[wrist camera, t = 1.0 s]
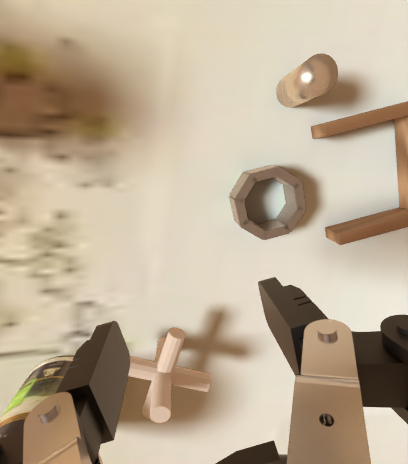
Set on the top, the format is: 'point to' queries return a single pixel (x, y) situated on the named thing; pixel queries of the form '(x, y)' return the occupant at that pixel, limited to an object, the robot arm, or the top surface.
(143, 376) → the pipe connector
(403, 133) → the groove block
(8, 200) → the top surface
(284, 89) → the beige rounded cylinder
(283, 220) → the metal ring
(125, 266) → the top surface
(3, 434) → the coffee can
